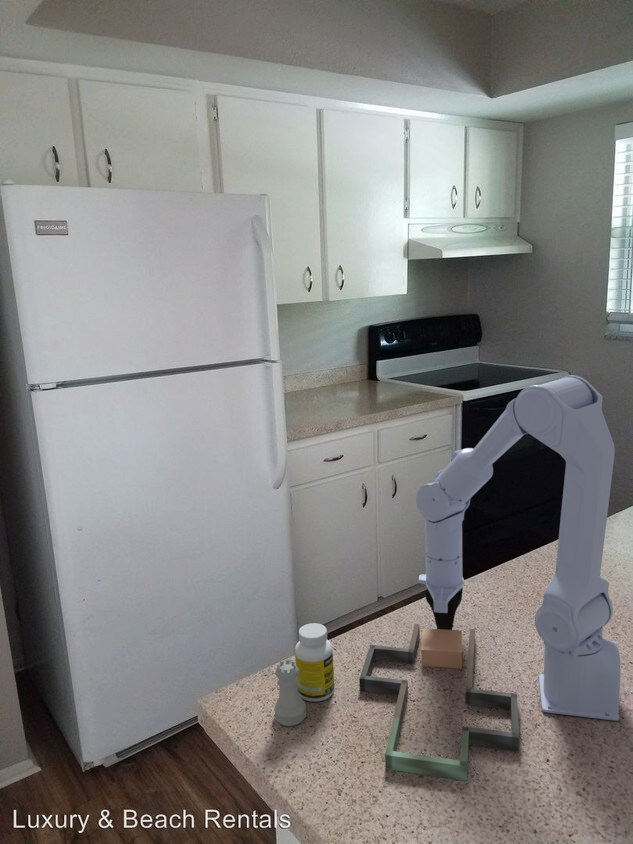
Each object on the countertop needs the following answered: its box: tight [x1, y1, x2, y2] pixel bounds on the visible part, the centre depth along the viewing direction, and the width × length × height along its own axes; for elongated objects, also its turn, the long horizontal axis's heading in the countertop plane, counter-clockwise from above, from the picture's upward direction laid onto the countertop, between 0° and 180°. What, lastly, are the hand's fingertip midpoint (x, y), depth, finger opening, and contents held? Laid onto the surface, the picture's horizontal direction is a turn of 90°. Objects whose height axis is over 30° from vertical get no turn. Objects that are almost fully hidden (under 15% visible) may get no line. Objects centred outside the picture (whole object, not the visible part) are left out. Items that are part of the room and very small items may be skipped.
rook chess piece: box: [273, 659, 308, 727], centre depth 88 cm, size 4×4×8 cm
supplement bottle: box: [294, 622, 335, 703], centre depth 92 cm, size 5×5×10 cm
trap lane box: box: [358, 623, 520, 782], centre depth 91 cm, size 22×30×2 cm
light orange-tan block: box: [420, 628, 463, 670], centre depth 100 cm, size 6×6×3 cm
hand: (444, 630), depth 105 cm, fingers closed
